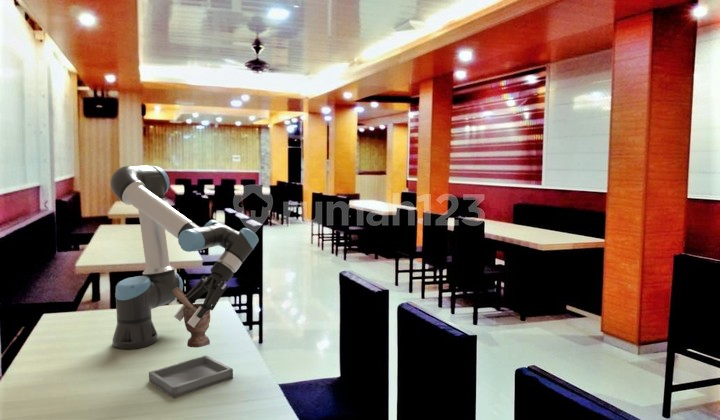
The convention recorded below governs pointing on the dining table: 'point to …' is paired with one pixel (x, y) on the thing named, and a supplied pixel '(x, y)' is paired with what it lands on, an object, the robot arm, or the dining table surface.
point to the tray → (190, 376)
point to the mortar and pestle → (199, 330)
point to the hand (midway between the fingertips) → (183, 321)
